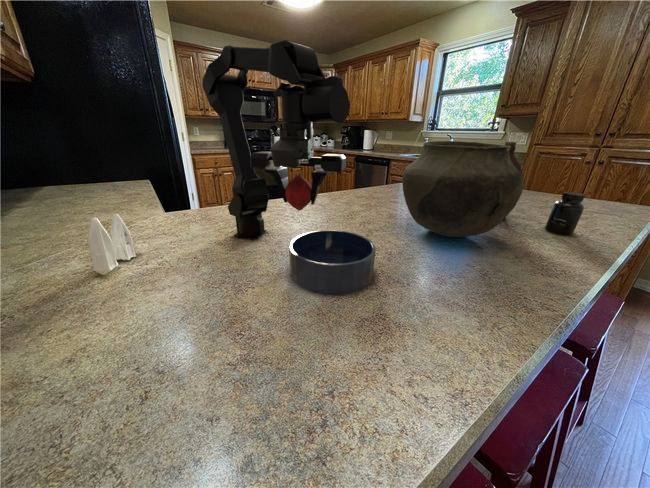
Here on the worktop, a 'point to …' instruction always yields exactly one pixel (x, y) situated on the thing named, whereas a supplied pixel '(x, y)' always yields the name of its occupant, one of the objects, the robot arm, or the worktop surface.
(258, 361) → the worktop surface
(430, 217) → the pot
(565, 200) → the supplement bottle
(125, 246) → the shaker set
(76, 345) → the worktop surface
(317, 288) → the bowl
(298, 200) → the onion
